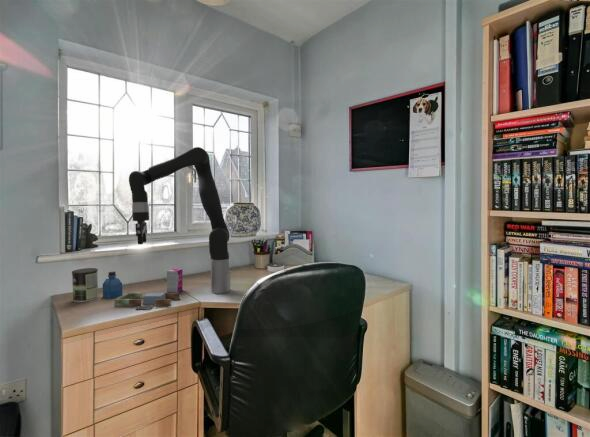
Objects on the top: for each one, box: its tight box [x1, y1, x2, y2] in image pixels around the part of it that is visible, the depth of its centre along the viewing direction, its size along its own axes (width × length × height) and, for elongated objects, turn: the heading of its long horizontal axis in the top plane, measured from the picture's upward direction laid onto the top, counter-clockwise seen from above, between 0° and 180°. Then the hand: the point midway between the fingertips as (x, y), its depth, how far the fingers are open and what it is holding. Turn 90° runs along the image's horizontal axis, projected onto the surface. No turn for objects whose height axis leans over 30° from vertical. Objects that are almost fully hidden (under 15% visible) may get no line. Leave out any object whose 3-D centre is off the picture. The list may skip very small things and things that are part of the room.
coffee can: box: [71, 267, 99, 303], centre depth 148 cm, size 10×10×14 cm
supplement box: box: [166, 268, 183, 293], centre depth 161 cm, size 6×6×12 cm
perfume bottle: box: [102, 271, 123, 300], centre depth 153 cm, size 6×6×12 cm
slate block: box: [142, 292, 166, 305], centre depth 143 cm, size 8×5×4 cm, turn 90°
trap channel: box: [114, 292, 181, 311], centre depth 143 cm, size 25×20×3 cm
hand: (142, 243), depth 156 cm, fingers open, 8 cm apart
